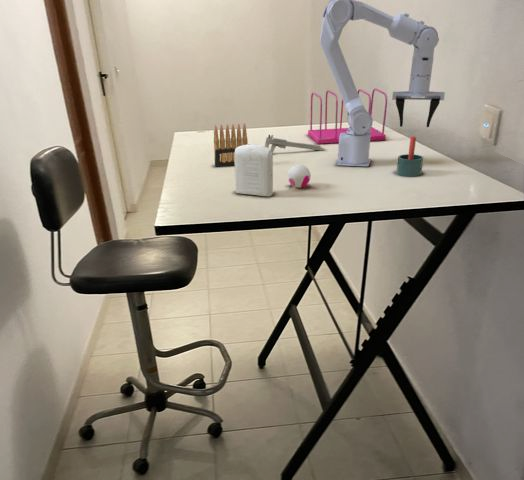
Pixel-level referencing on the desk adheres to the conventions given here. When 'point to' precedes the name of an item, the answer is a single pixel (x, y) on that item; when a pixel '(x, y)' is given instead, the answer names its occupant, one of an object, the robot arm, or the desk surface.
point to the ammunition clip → (228, 145)
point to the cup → (409, 165)
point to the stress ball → (299, 176)
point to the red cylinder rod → (411, 148)
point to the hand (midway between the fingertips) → (414, 126)
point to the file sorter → (333, 134)
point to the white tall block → (254, 170)
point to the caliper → (288, 144)
